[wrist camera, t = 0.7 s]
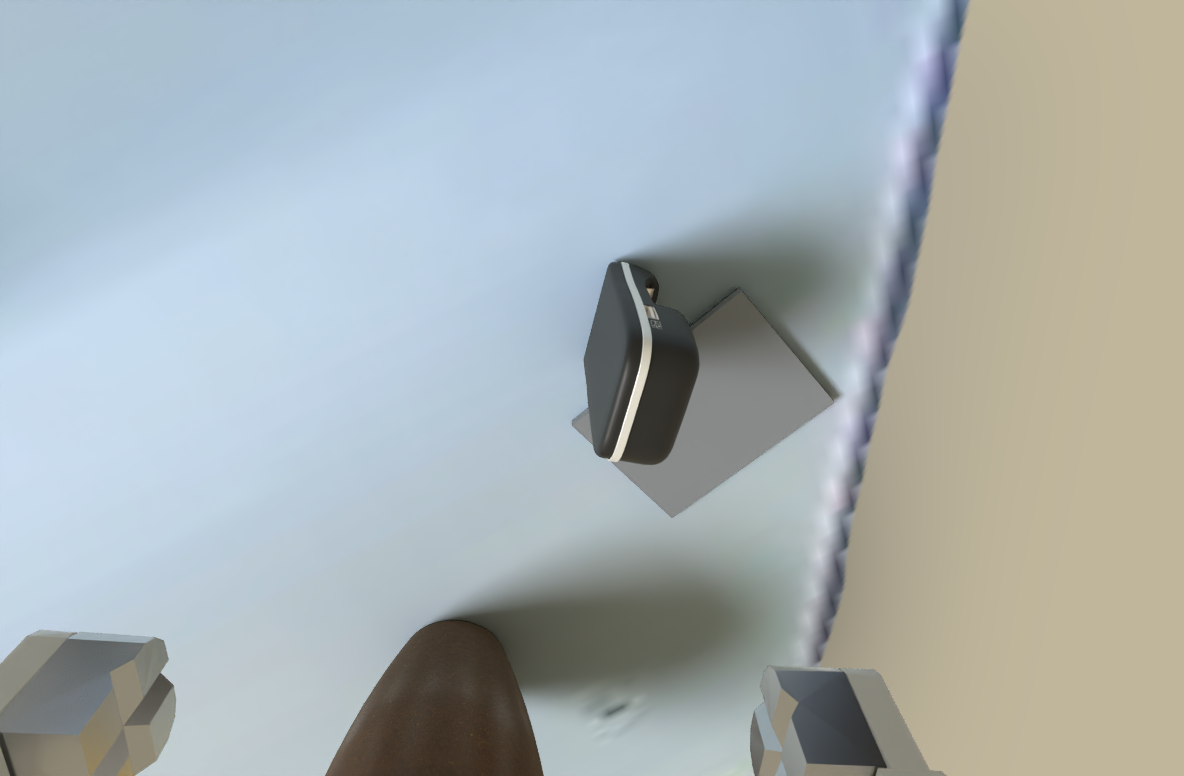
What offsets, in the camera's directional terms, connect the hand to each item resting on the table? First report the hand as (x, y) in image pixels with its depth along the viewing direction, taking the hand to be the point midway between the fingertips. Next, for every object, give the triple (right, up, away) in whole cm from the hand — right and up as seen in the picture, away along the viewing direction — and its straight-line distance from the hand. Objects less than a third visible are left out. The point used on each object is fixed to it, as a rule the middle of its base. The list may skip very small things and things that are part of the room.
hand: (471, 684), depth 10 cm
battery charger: (+4, +8, +33) cm, 34 cm away
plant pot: (-9, -16, +45) cm, 48 cm away
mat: (+9, +3, +36) cm, 37 cm away
